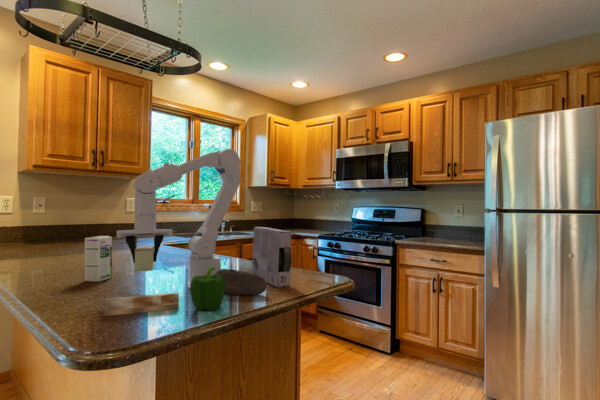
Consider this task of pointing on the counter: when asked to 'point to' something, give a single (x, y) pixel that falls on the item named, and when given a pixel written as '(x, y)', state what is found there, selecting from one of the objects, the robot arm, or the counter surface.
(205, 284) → the bell pepper
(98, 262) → the syrup box
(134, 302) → the shelf board
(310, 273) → the counter surface
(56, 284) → the counter surface
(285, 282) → the cake pan box
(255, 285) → the perforated stone tool
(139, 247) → the tea tin
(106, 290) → the counter surface
